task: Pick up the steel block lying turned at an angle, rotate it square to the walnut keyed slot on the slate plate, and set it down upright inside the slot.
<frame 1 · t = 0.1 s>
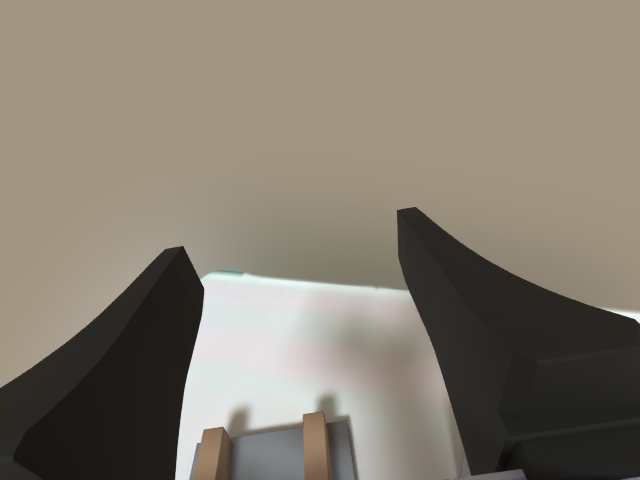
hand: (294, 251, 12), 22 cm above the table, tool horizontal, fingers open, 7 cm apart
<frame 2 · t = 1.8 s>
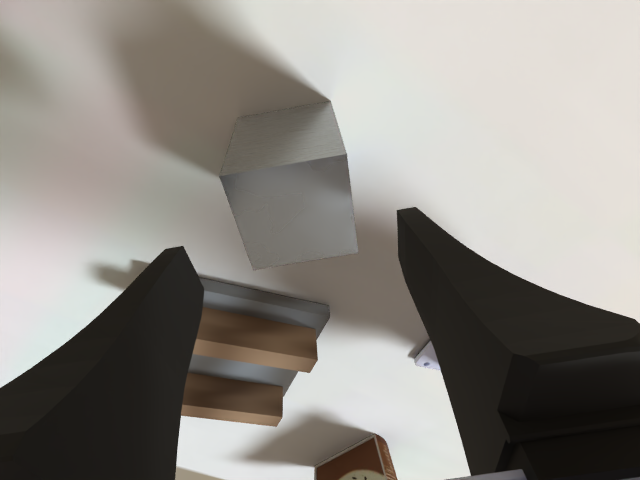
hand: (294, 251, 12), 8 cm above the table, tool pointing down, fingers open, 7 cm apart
food container: (362, 455, 42), on the table
steel block: (293, 152, 19), on the table
slot seat: (224, 342, 28), on the table
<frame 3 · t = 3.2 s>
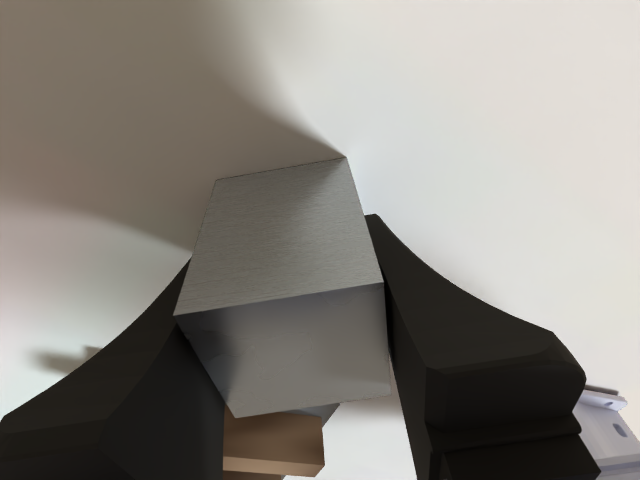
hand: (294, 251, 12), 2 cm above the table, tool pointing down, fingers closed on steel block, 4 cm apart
steel block: (294, 222, 14), on the table, touching gripper
slot seat: (210, 426, 23), on the table
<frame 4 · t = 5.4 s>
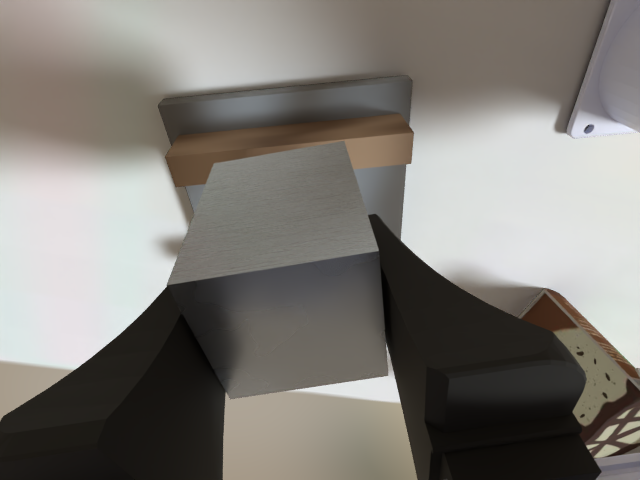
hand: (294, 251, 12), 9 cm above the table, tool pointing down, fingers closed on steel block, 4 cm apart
food container: (537, 329, 32), on the table
steel block: (291, 208, 14), point 7 cm above the table, touching gripper
slot seat: (299, 193, 22), on the table
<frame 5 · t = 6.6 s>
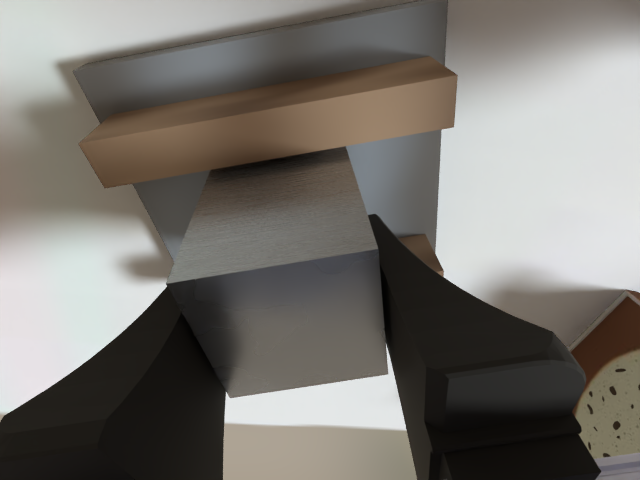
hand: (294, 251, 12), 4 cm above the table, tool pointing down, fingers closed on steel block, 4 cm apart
food container: (612, 340, 25), on the table
steel block: (291, 207, 14), point 2 cm above the table, touching gripper
slot seat: (293, 186, 16), on the table
when the fingers open (4 cm above the table, at t = 7.5 s): steel block drops 1 cm, resting on slot seat.
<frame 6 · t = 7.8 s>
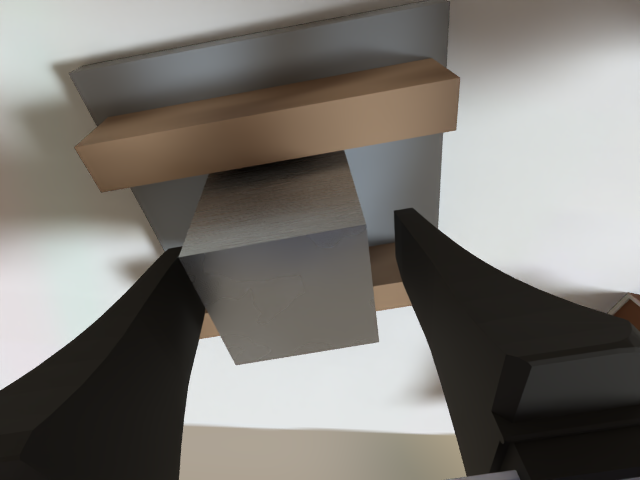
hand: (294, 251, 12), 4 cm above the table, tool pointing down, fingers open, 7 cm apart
food container: (614, 343, 25), on the table
steel block: (290, 193, 15), point 1 cm above the table, touching slot seat
slot seat: (293, 189, 16), on the table
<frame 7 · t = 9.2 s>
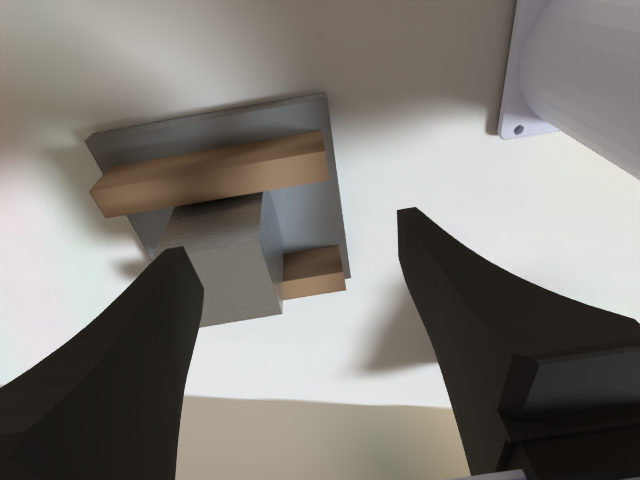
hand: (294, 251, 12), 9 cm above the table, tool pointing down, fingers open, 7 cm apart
steel block: (236, 214, 21), point 1 cm above the table, touching slot seat
slot seat: (240, 211, 22), on the table
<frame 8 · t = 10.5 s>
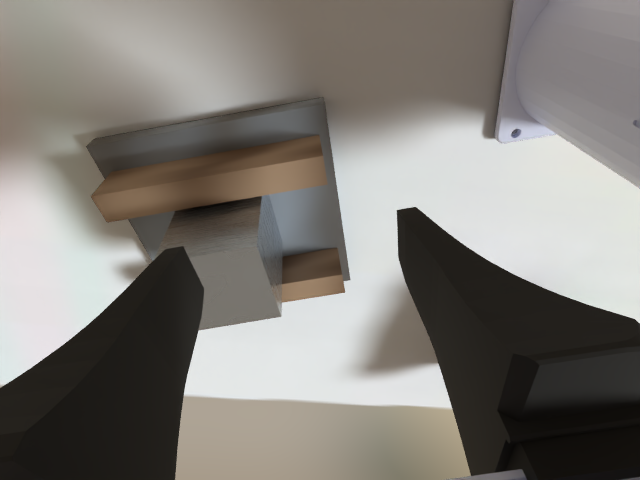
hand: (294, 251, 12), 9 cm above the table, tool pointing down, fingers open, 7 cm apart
steel block: (236, 218, 21), point 1 cm above the table, touching slot seat
slot seat: (240, 214, 23), on the table
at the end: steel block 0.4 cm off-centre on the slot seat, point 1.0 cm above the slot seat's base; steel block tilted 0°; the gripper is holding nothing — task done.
